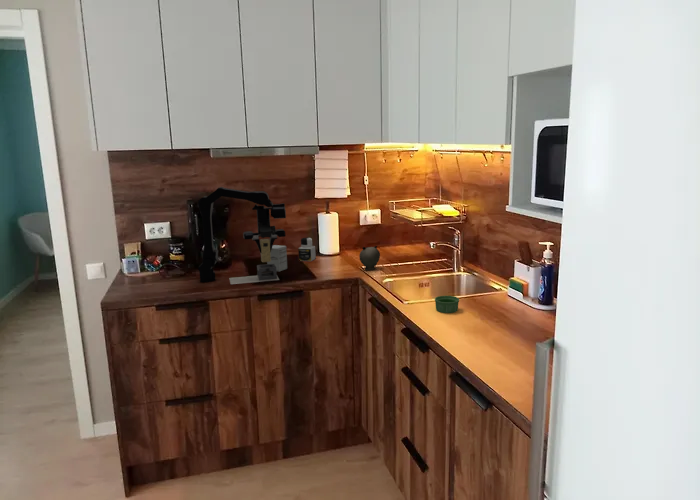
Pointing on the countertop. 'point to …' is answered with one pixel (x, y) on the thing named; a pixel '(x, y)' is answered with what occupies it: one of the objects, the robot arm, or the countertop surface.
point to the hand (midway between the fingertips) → (265, 252)
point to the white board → (247, 279)
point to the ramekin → (446, 304)
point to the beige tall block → (265, 250)
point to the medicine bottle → (306, 250)
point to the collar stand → (269, 274)
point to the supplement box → (279, 257)
